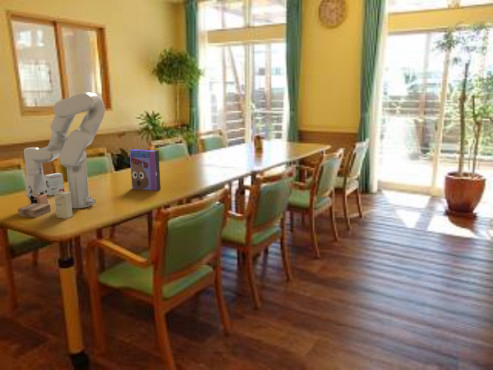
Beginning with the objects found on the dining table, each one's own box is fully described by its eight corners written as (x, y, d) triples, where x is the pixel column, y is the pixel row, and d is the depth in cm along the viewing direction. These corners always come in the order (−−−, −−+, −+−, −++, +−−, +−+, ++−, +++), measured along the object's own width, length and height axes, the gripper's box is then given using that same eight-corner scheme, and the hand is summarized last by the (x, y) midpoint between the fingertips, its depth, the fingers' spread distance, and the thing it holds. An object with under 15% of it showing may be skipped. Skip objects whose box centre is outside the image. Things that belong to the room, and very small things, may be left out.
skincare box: (56, 217, 195) (53, 193, 192) (63, 214, 199) (60, 190, 196) (66, 218, 193) (63, 194, 190) (73, 216, 197) (70, 192, 194)
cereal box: (132, 188, 250) (129, 150, 245) (136, 186, 254) (134, 148, 249) (156, 191, 244) (153, 151, 238) (160, 189, 248) (158, 150, 243)
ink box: (60, 191, 244) (58, 172, 241) (65, 192, 241) (62, 173, 238) (46, 194, 237) (44, 174, 235) (50, 195, 234) (48, 175, 232)
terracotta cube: (48, 205, 215) (47, 194, 214) (40, 208, 209) (39, 197, 208) (38, 204, 216) (36, 193, 215) (30, 208, 210) (28, 196, 209)
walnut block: (50, 212, 205) (49, 204, 204) (36, 218, 195) (35, 210, 194) (33, 210, 207) (32, 203, 206) (18, 216, 198) (17, 208, 197)
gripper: (39, 168, 217) (44, 200, 221) (16, 174, 201) (21, 209, 205) (52, 168, 216) (56, 201, 220) (29, 175, 199) (34, 210, 204)
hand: (39, 204), depth 212 cm, fingers closed on terracotta cube, 6 cm apart
